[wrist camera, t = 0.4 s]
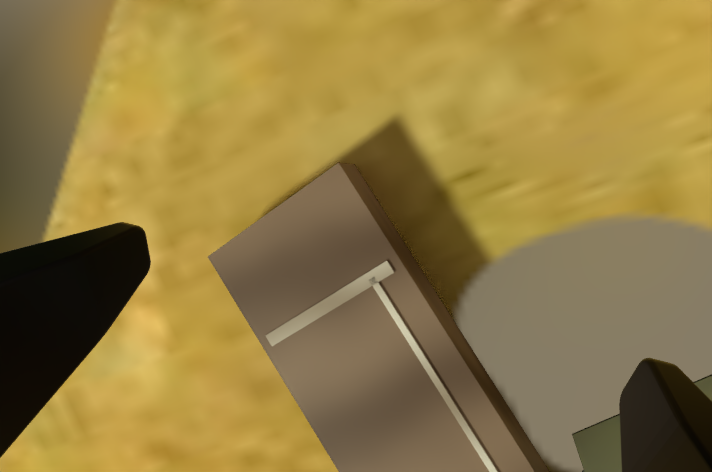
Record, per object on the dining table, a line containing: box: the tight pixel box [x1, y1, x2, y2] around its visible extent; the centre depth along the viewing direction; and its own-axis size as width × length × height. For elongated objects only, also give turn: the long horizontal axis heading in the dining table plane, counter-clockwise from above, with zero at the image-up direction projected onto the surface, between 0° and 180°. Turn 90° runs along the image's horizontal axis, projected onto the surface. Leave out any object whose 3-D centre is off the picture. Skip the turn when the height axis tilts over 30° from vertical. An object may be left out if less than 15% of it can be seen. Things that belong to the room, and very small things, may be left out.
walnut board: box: [208, 163, 550, 472], centre depth 22 cm, size 22×8×3 cm, turn 35°
